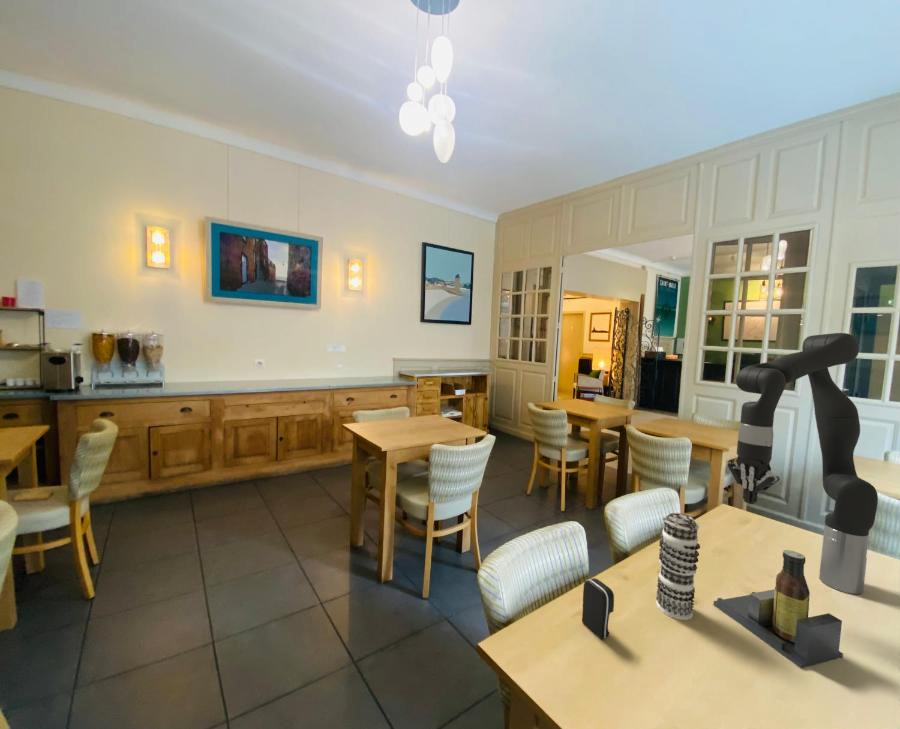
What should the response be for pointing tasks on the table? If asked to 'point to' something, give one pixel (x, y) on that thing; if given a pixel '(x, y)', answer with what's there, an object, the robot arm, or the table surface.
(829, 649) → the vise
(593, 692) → the table surface
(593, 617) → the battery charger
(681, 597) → the decorative candle
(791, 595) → the sauce bottle
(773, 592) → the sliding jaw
